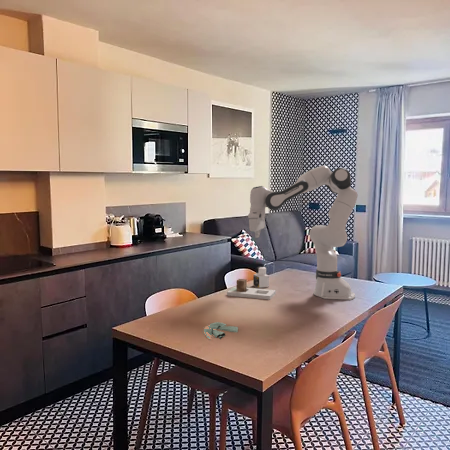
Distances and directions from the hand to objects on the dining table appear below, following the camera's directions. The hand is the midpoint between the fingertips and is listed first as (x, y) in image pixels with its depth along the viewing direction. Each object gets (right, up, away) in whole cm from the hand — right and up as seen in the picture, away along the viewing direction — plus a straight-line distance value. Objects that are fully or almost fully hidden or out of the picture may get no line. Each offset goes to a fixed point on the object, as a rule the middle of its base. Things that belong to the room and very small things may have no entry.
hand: (257, 237), depth 247 cm
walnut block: (-10, -32, -6) cm, 34 cm away
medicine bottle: (+3, -30, +11) cm, 32 cm away
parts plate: (-4, -32, -8) cm, 33 cm away
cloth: (-21, -39, -66) cm, 80 cm away
